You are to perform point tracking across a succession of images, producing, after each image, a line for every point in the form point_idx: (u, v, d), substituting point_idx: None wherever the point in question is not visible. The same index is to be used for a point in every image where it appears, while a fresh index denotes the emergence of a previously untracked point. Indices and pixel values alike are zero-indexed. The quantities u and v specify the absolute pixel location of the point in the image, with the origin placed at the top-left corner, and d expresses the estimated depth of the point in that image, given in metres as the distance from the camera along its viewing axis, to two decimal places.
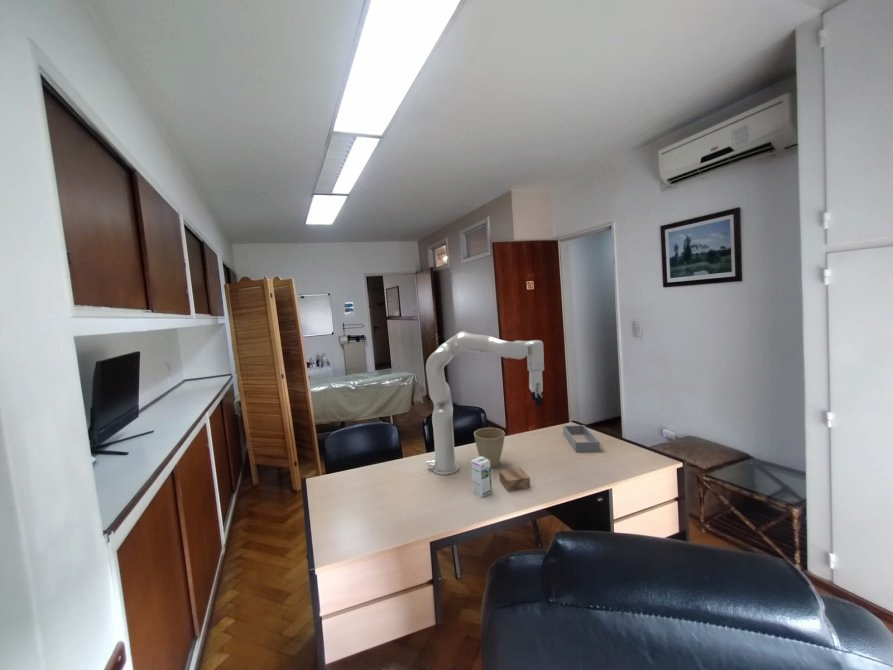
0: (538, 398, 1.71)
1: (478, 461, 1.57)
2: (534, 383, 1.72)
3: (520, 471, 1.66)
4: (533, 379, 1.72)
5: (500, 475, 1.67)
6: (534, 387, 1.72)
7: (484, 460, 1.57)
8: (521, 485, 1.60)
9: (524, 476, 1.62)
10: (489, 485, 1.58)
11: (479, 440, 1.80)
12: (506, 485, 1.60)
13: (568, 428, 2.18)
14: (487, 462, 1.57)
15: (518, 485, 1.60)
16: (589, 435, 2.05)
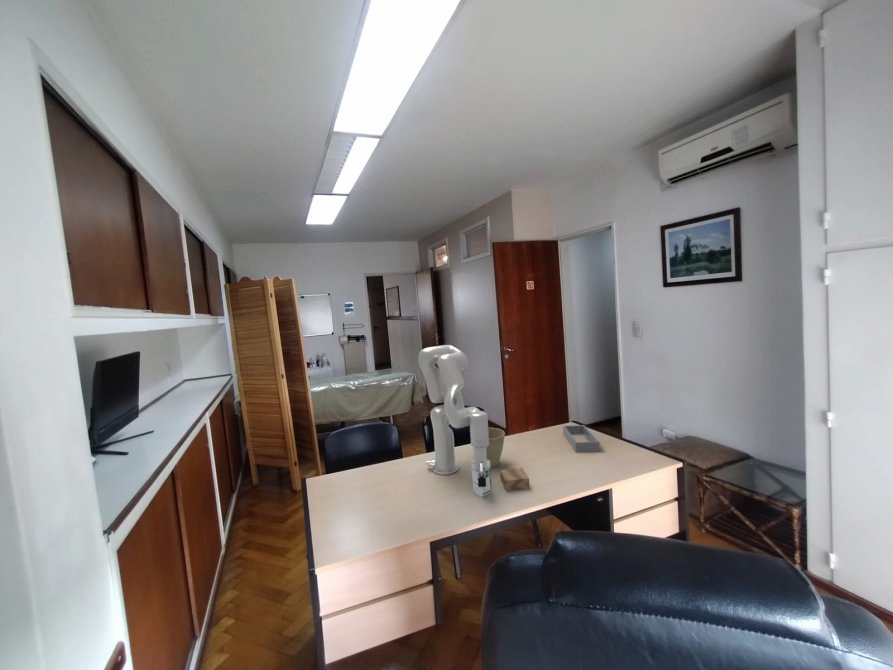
0: (481, 479, 1.54)
1: None
2: (476, 461, 1.53)
3: (520, 472, 1.66)
4: (475, 457, 1.53)
5: (500, 474, 1.67)
6: (476, 466, 1.53)
7: None
8: (520, 486, 1.60)
9: (523, 476, 1.62)
10: (489, 485, 1.58)
11: None
12: (505, 485, 1.60)
13: (568, 428, 2.18)
14: (487, 462, 1.57)
15: (517, 485, 1.60)
16: (589, 435, 2.05)
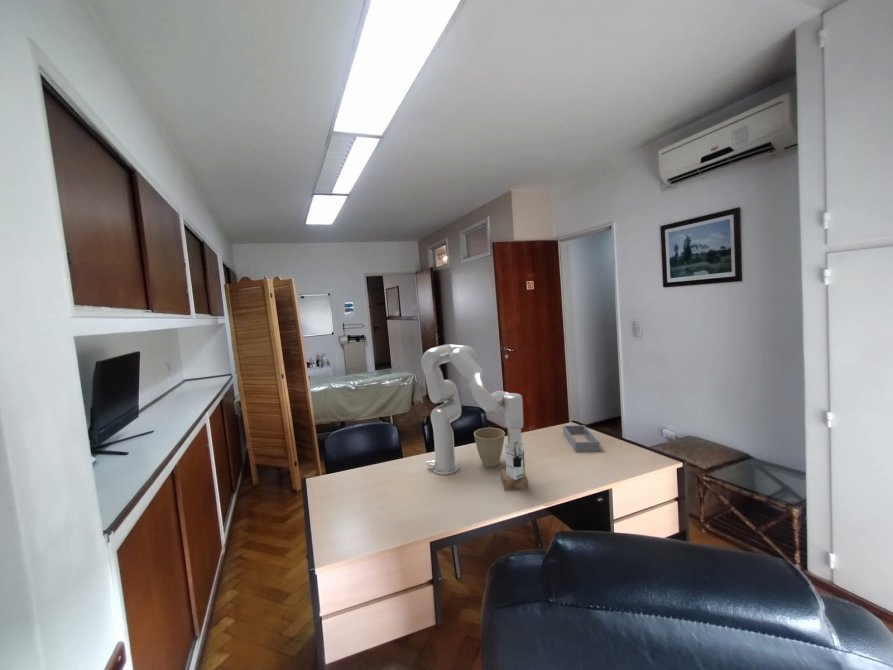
0: (516, 459, 1.55)
1: None
2: (512, 442, 1.56)
3: None
4: (511, 438, 1.56)
5: (501, 474, 1.68)
6: (512, 447, 1.56)
7: None
8: (518, 486, 1.60)
9: None
10: (522, 468, 1.61)
11: (479, 440, 1.80)
12: (503, 484, 1.61)
13: (568, 428, 2.18)
14: (521, 445, 1.60)
15: (515, 485, 1.60)
16: (589, 435, 2.05)
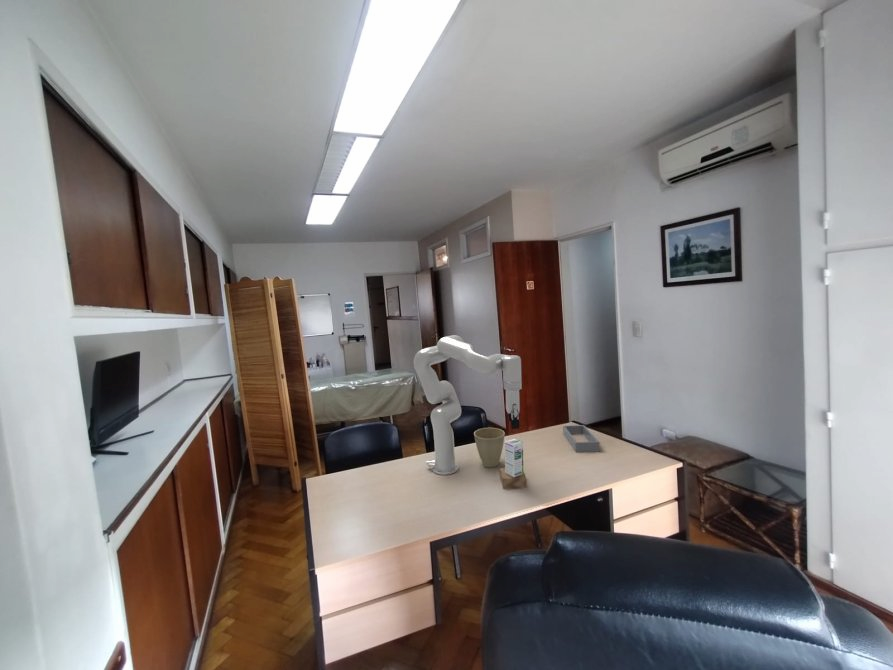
0: (514, 420, 1.54)
1: (512, 442, 1.62)
2: (510, 403, 1.54)
3: None
4: (509, 399, 1.54)
5: (500, 472, 1.70)
6: (510, 408, 1.54)
7: (518, 442, 1.62)
8: (517, 484, 1.61)
9: (521, 475, 1.63)
10: (521, 466, 1.63)
11: (479, 440, 1.80)
12: (502, 483, 1.62)
13: (568, 428, 2.18)
14: (521, 443, 1.62)
15: (514, 484, 1.61)
16: (589, 435, 2.05)
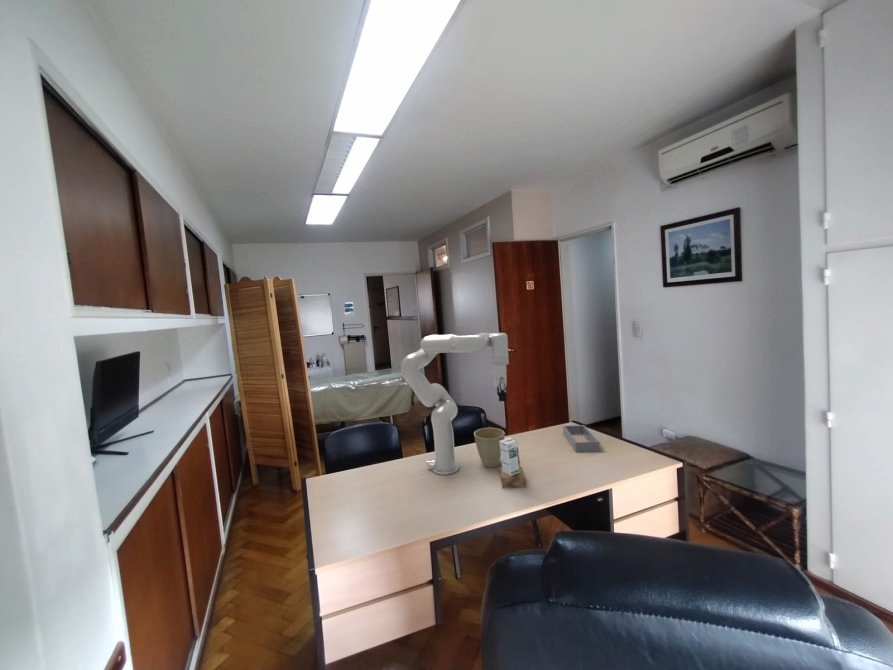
0: (501, 393, 1.64)
1: (505, 441, 1.64)
2: (497, 377, 1.65)
3: None
4: (496, 373, 1.65)
5: (500, 472, 1.70)
6: (497, 381, 1.65)
7: (511, 441, 1.64)
8: (516, 484, 1.62)
9: (520, 475, 1.63)
10: (517, 465, 1.64)
11: (479, 440, 1.80)
12: (501, 482, 1.63)
13: (568, 428, 2.18)
14: (515, 442, 1.64)
15: (513, 483, 1.62)
16: (589, 435, 2.05)
